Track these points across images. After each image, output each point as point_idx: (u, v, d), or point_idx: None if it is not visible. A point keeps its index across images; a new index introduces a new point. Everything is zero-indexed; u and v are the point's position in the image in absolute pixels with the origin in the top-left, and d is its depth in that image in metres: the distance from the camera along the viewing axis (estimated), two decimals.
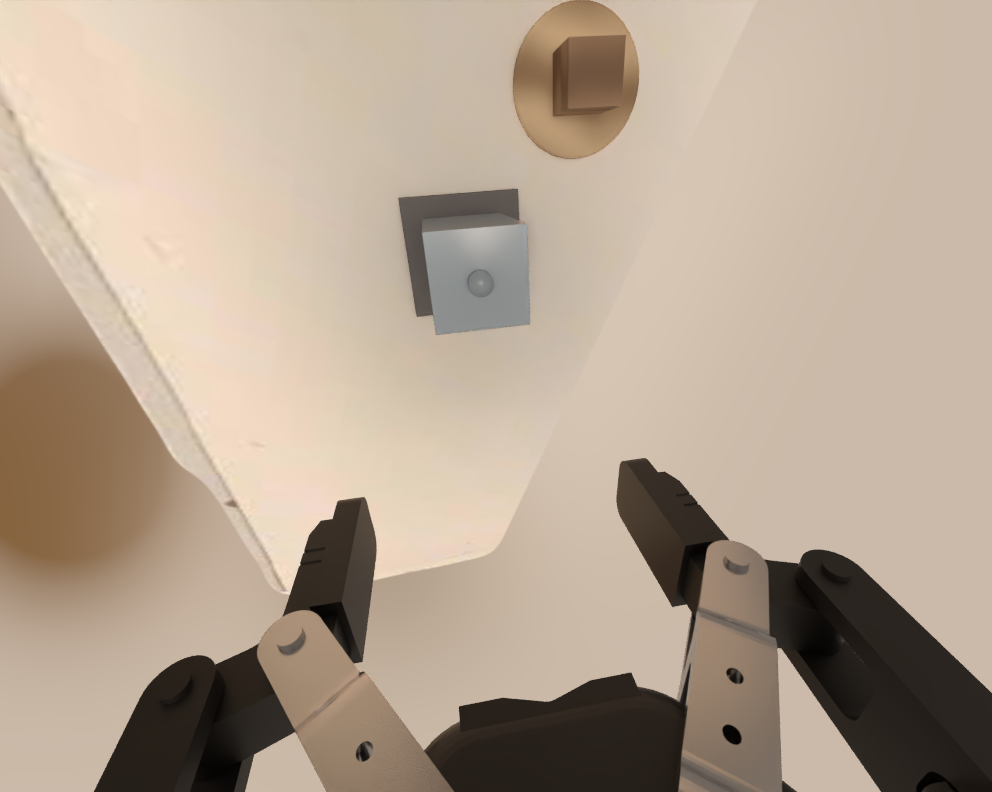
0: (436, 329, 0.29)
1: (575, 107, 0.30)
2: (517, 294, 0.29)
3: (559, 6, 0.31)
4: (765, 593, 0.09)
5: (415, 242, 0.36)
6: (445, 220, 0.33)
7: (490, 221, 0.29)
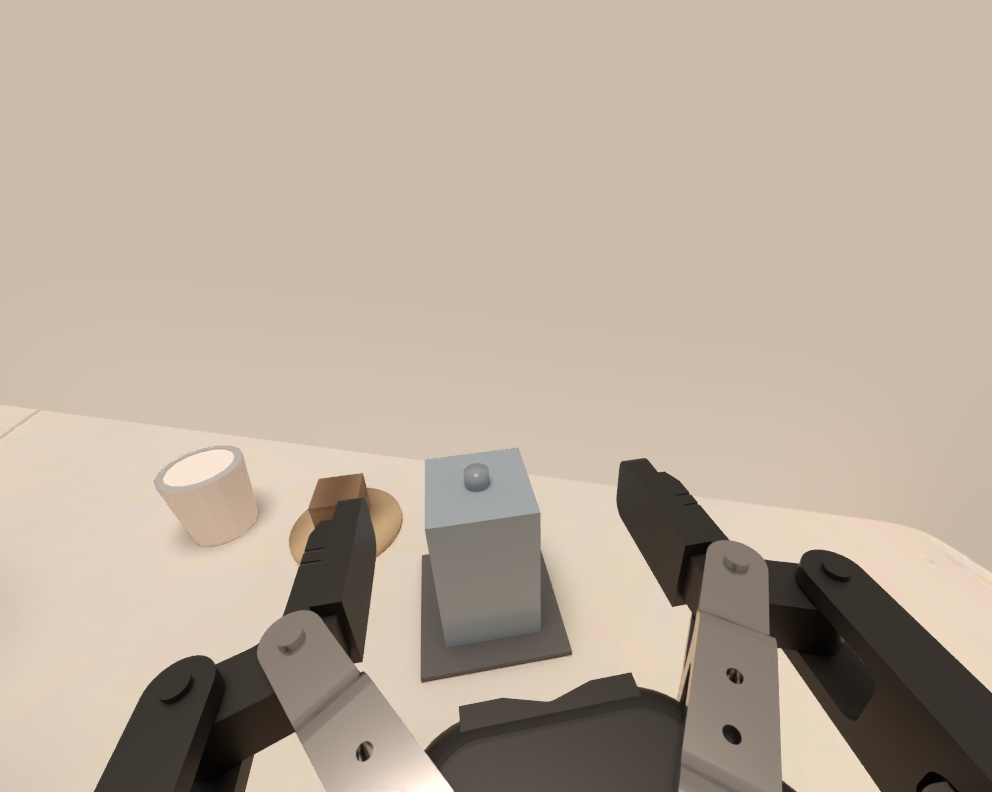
0: (533, 512, 0.24)
1: None
2: (489, 458, 0.29)
3: (290, 542, 0.38)
4: (765, 593, 0.09)
5: (474, 656, 0.28)
6: None
7: None
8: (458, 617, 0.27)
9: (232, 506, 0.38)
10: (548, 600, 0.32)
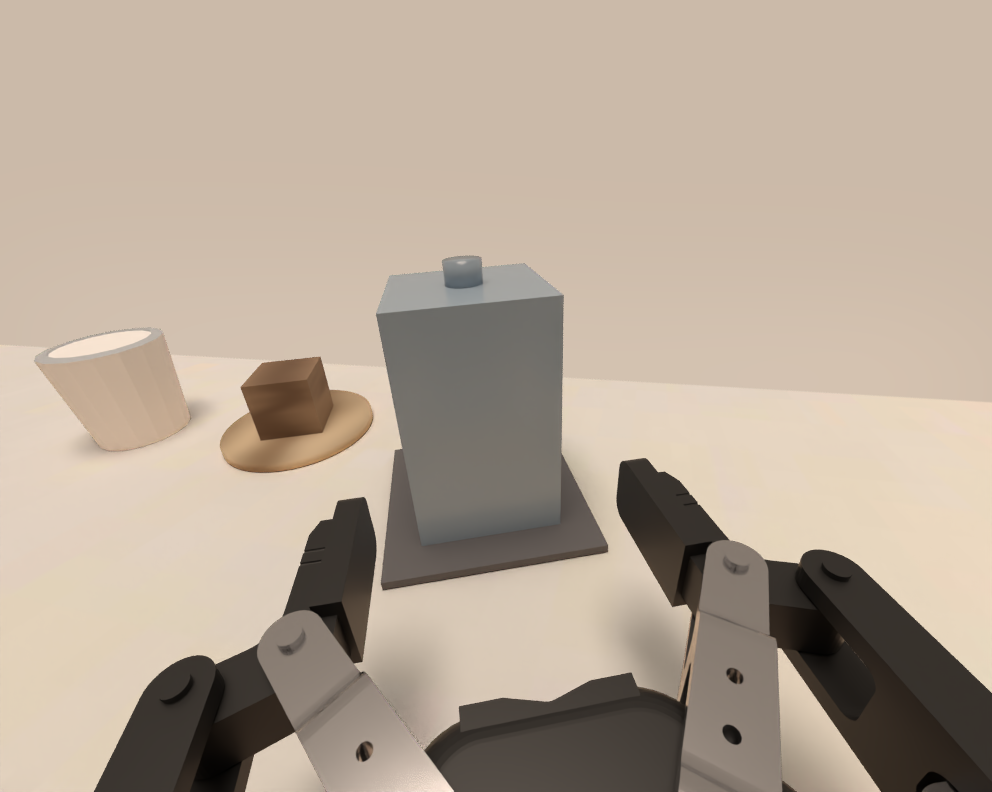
0: (552, 295, 0.15)
1: (308, 376, 0.27)
2: (482, 270, 0.20)
3: (221, 441, 0.28)
4: (765, 593, 0.09)
5: (462, 554, 0.19)
6: None
7: None
8: (438, 492, 0.18)
9: (146, 395, 0.29)
10: (569, 490, 0.22)
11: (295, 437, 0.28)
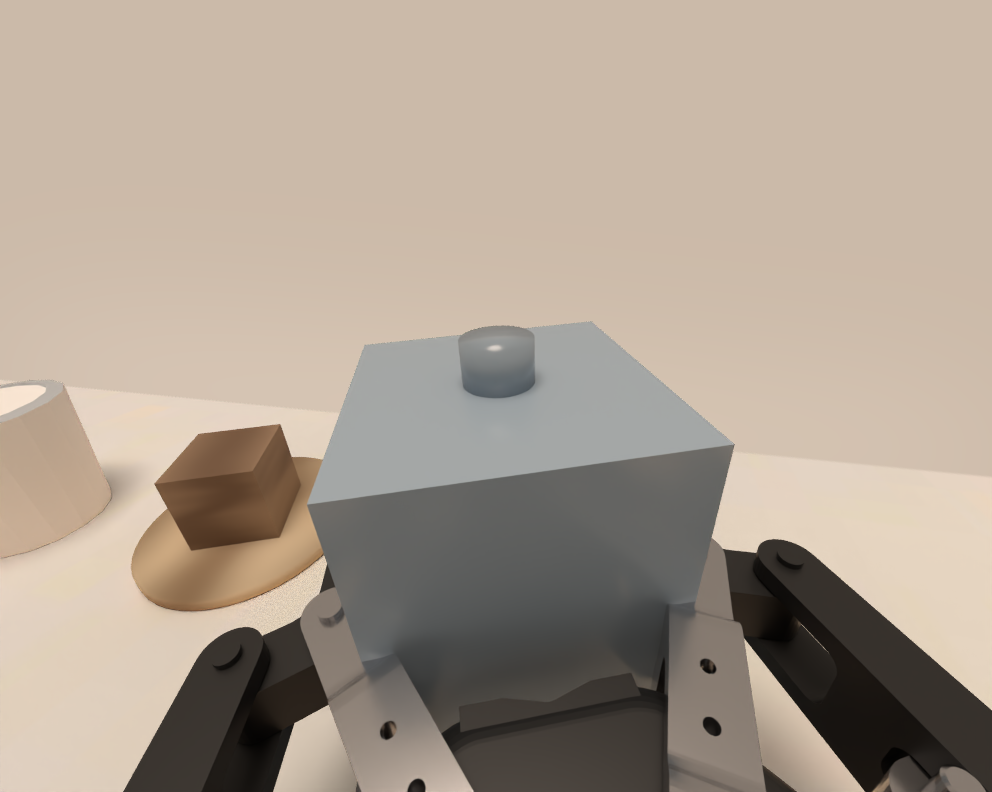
0: (709, 444, 0.07)
1: (256, 464, 0.19)
2: None
3: (136, 551, 0.20)
4: (720, 580, 0.09)
5: None
6: None
7: None
8: None
9: (32, 483, 0.20)
10: None
11: (240, 545, 0.20)
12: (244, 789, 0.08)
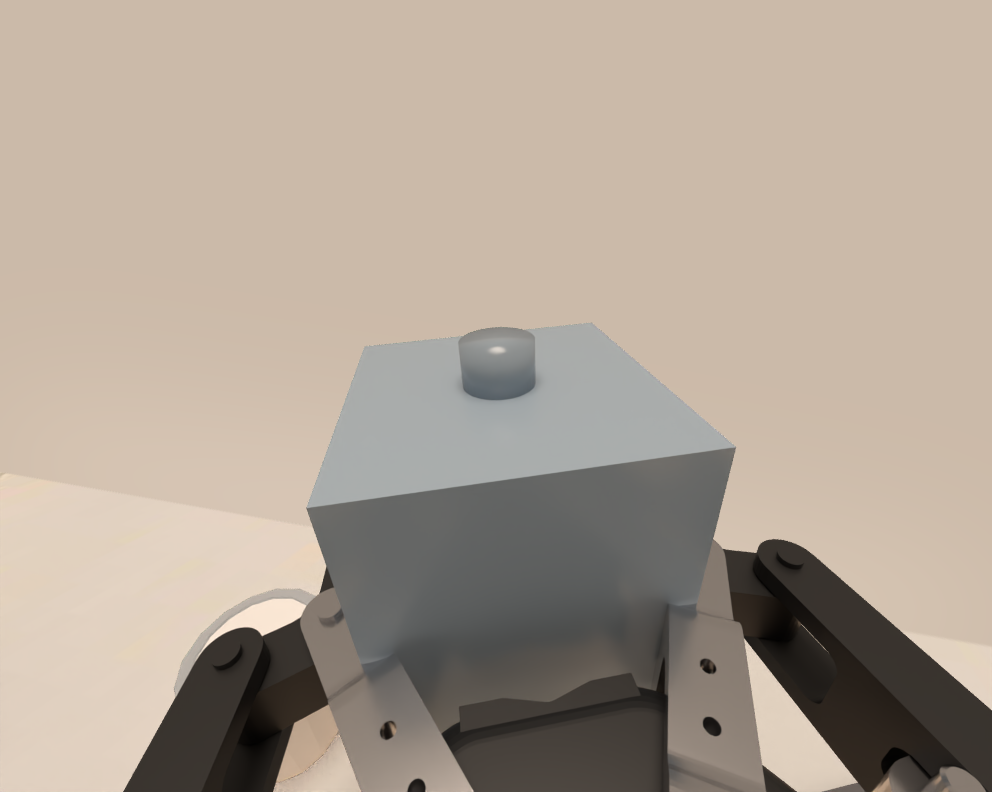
0: (710, 447, 0.07)
1: None
2: None
3: None
4: (720, 580, 0.09)
5: None
6: None
7: None
8: None
9: (315, 716, 0.21)
10: None
11: None
12: (244, 789, 0.08)
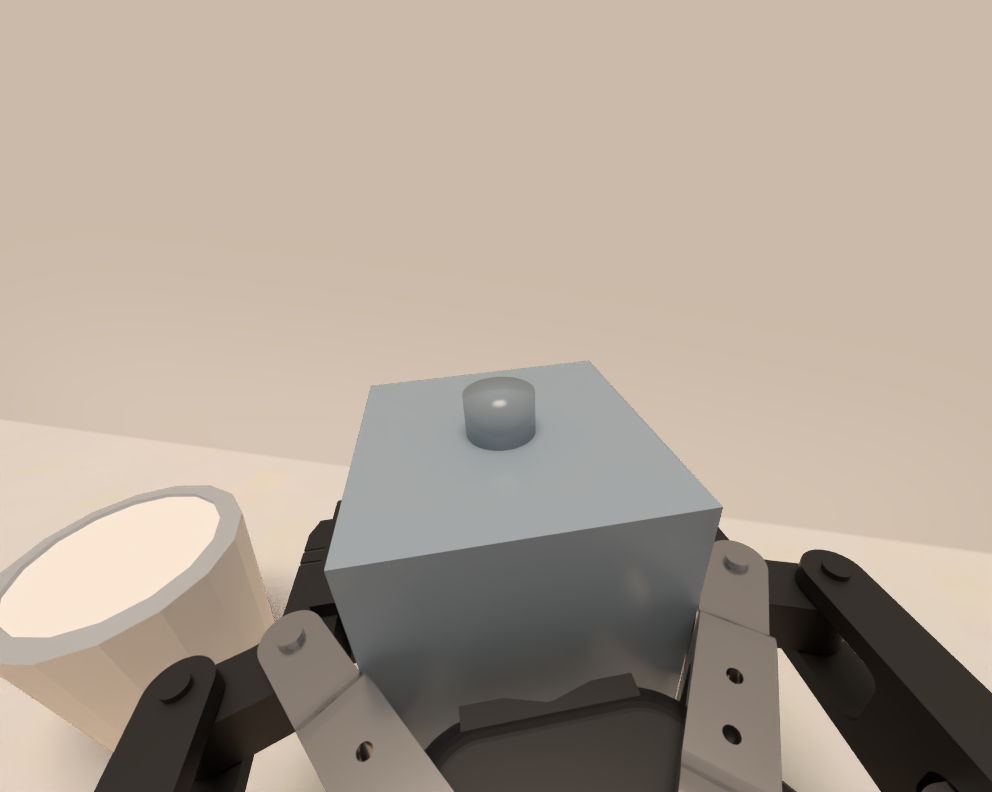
0: (699, 507, 0.07)
1: None
2: (525, 380, 0.12)
3: None
4: (765, 593, 0.09)
5: None
6: None
7: None
8: None
9: None
10: None
11: None
12: None
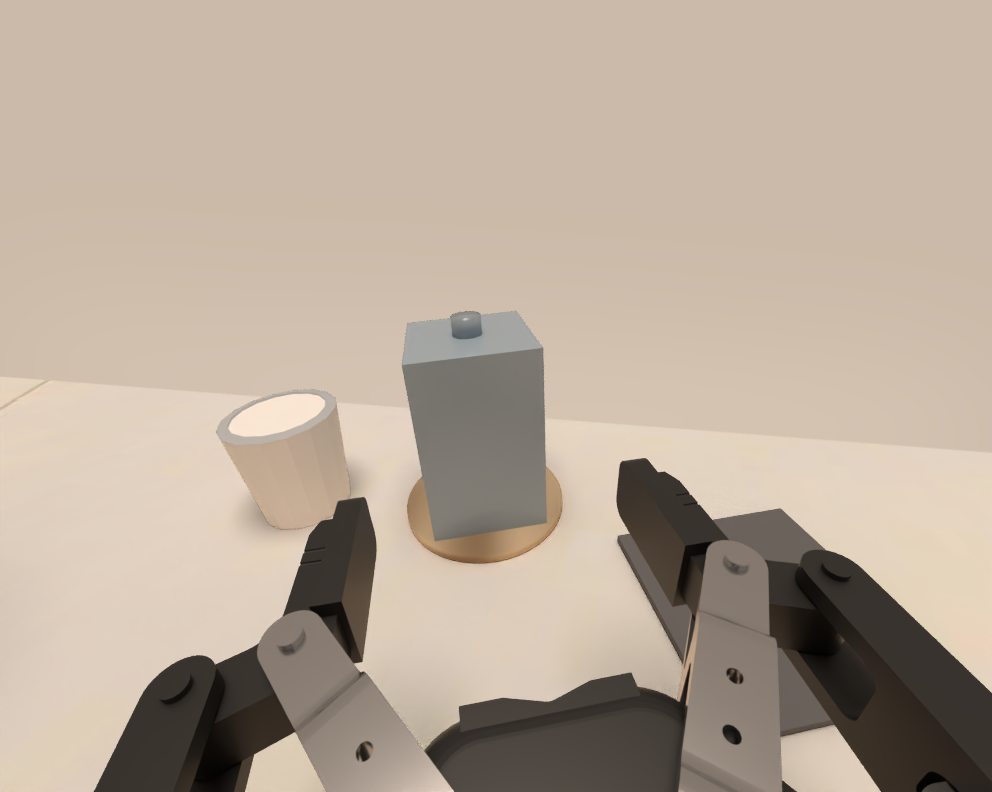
0: (534, 348, 0.20)
1: None
2: (482, 318, 0.25)
3: (411, 521, 0.26)
4: (765, 593, 0.09)
5: (803, 697, 0.16)
6: None
7: None
8: (448, 497, 0.23)
9: (326, 470, 0.26)
10: None
11: None
12: None
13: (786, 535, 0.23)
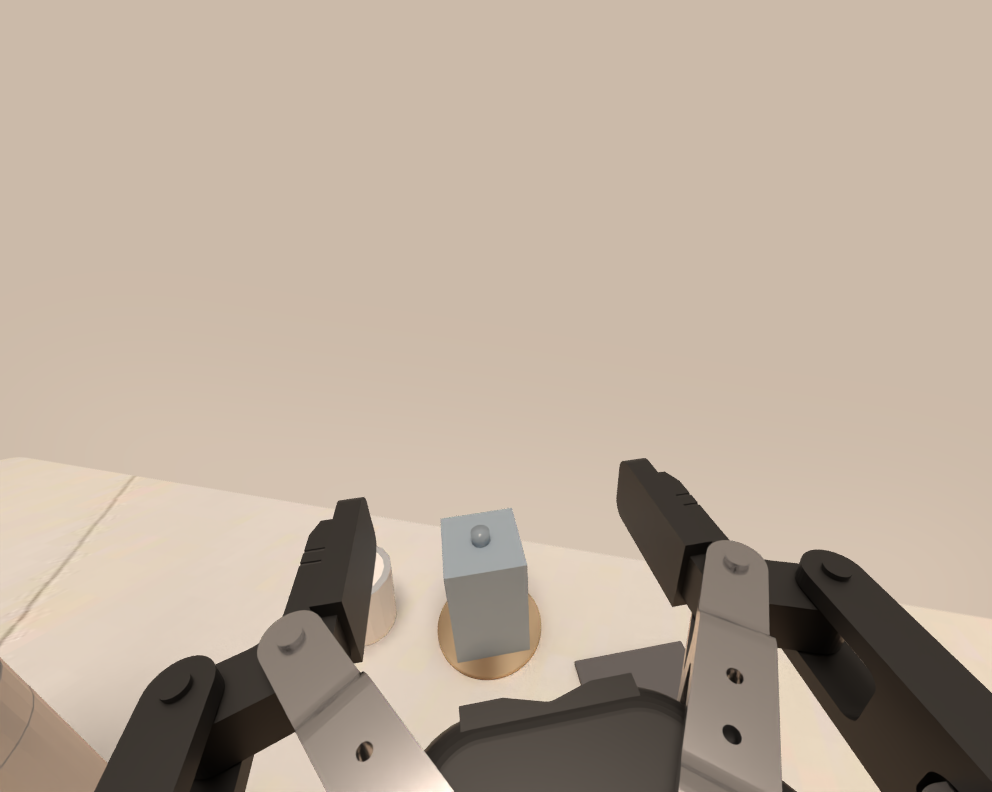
0: (522, 565, 0.33)
1: None
2: (489, 517, 0.38)
3: (441, 645, 0.39)
4: (765, 593, 0.09)
5: None
6: None
7: None
8: (467, 640, 0.36)
9: (384, 609, 0.40)
10: None
11: None
12: None
13: (679, 664, 0.37)
